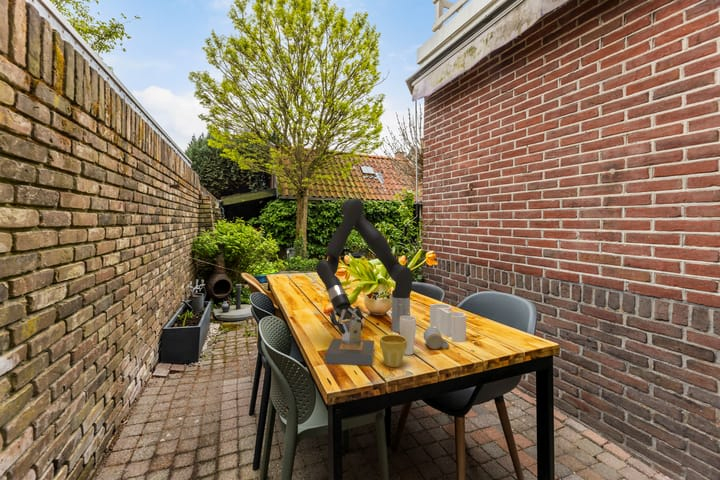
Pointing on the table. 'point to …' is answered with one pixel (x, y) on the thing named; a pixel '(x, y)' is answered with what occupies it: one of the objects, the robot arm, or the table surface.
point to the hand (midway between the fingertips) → (353, 331)
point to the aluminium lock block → (351, 334)
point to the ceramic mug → (434, 338)
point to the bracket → (448, 322)
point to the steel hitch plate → (350, 353)
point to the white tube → (408, 332)
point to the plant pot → (393, 349)
